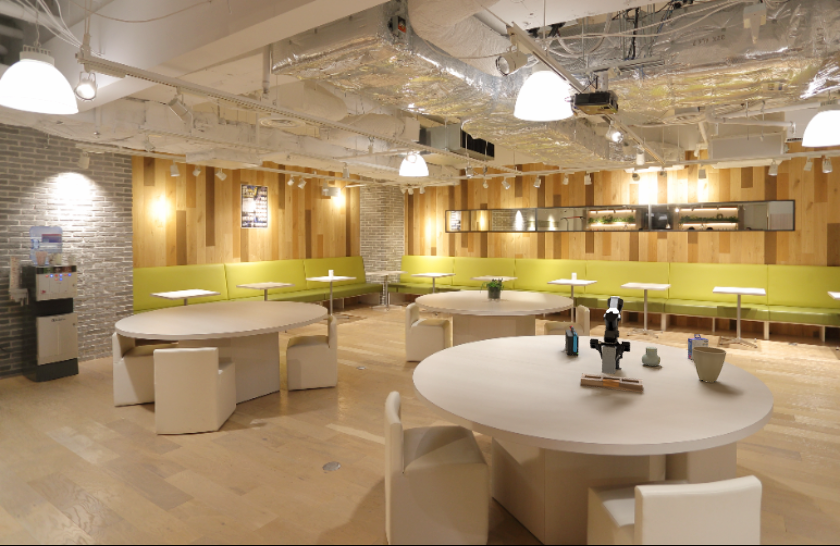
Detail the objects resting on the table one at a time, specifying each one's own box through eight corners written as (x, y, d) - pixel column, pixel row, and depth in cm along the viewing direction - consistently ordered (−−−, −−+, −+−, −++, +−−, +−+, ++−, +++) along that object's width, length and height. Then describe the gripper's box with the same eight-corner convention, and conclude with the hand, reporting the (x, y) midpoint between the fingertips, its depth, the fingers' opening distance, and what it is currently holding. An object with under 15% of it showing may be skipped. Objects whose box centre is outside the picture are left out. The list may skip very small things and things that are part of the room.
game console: (578, 357, 298) (579, 333, 296) (568, 356, 299) (568, 333, 298) (574, 346, 325) (575, 324, 324) (564, 346, 326) (565, 324, 325)
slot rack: (582, 380, 252) (582, 372, 252) (641, 386, 241) (642, 378, 241) (580, 385, 243) (580, 378, 242) (642, 392, 232) (642, 384, 232)
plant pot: (721, 386, 240) (722, 354, 238) (687, 380, 250) (689, 350, 248) (727, 379, 251) (729, 349, 249) (695, 374, 261) (696, 344, 259)
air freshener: (656, 368, 273) (657, 350, 272) (640, 365, 278) (641, 348, 277) (660, 364, 281) (661, 346, 281) (645, 361, 286) (646, 344, 286)
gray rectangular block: (602, 371, 245) (603, 345, 244) (615, 372, 242) (615, 346, 241) (601, 372, 242) (602, 346, 241) (614, 374, 240) (615, 347, 238)
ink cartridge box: (703, 357, 295) (704, 333, 294) (708, 360, 289) (709, 335, 288) (686, 357, 295) (687, 333, 294) (691, 360, 289) (692, 335, 288)
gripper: (590, 322, 248) (587, 349, 239) (630, 325, 240) (629, 352, 231) (591, 334, 255) (589, 360, 246) (630, 338, 248) (629, 365, 239)
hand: (608, 359), depth 240 cm, fingers closed on gray rectangular block, 6 cm apart
